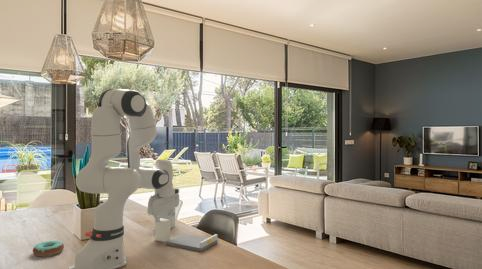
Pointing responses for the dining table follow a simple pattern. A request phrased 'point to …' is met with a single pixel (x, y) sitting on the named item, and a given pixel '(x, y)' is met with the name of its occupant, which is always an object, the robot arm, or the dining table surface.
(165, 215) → the supplement box
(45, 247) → the donut
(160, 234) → the carton
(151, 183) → the robot arm
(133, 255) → the dining table surface
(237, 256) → the dining table surface
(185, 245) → the grey panel white edge
